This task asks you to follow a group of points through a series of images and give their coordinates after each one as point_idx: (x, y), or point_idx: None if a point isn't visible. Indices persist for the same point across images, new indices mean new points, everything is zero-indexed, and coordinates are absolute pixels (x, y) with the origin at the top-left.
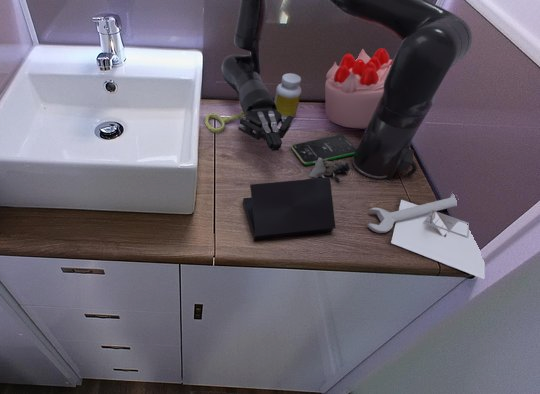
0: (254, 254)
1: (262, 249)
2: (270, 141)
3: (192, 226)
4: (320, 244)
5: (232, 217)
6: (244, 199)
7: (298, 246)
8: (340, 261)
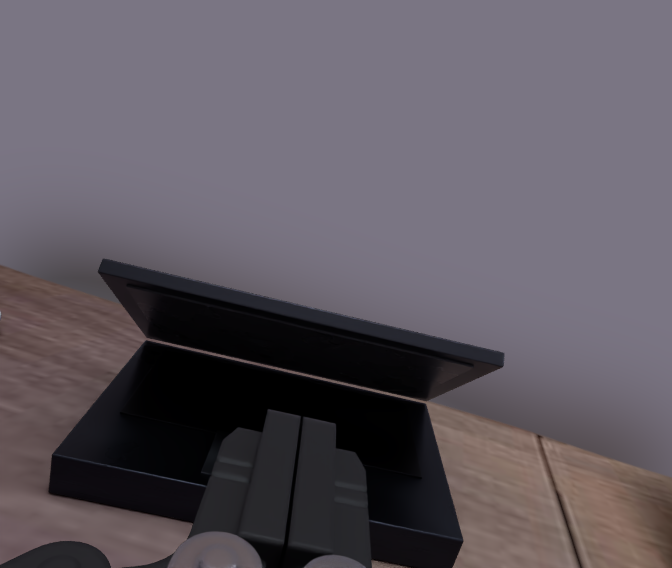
0: None
1: None
2: (348, 475)
3: (652, 540)
4: None
5: (495, 525)
6: (458, 530)
7: None
8: None
